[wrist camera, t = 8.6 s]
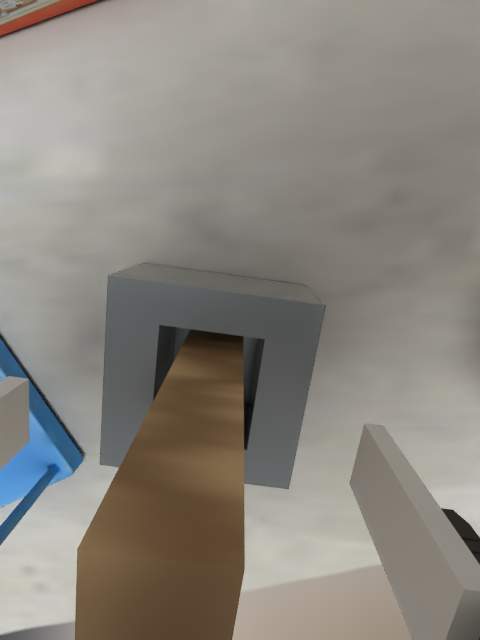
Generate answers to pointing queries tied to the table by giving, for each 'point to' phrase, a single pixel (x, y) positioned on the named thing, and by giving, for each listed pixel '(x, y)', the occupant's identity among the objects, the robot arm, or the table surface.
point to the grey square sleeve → (220, 317)
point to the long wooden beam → (173, 510)
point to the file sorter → (34, 453)
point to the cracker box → (32, 12)
